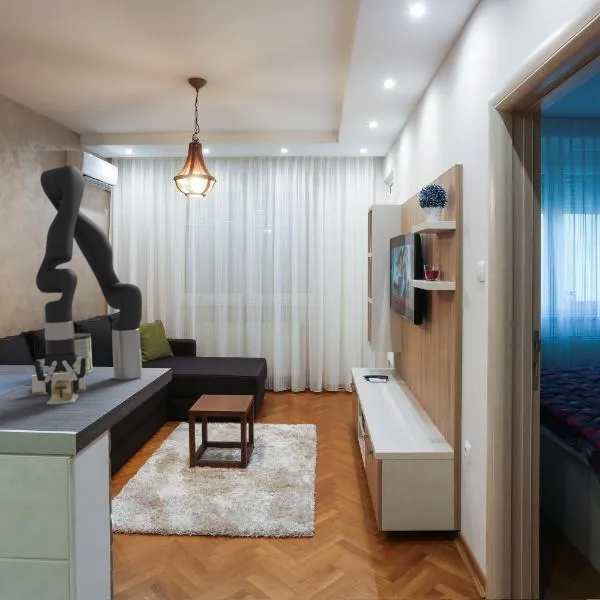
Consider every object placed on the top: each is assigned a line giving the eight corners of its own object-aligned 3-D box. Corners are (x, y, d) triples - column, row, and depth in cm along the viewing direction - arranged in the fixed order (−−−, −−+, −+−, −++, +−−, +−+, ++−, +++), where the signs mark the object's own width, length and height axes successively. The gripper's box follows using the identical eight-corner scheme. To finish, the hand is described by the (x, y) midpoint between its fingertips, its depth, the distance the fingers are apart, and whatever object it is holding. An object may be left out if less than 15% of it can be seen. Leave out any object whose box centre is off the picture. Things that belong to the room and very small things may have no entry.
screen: (86, 389, 151) (85, 370, 150) (84, 391, 148) (83, 373, 147) (34, 393, 147) (33, 374, 146) (31, 395, 144) (30, 376, 143)
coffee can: (57, 372, 175) (55, 335, 174) (83, 367, 183) (81, 332, 182) (71, 376, 169) (69, 337, 168) (98, 370, 177) (96, 334, 176)
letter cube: (74, 395, 141) (73, 378, 141) (70, 399, 136) (70, 382, 136) (55, 396, 140) (55, 380, 140) (51, 401, 135) (51, 384, 135)
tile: (78, 396, 143) (78, 394, 143) (73, 402, 136) (73, 400, 136) (52, 398, 141) (52, 396, 141) (47, 404, 134) (46, 402, 134)
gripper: (88, 333, 142) (91, 388, 144) (36, 336, 139) (39, 392, 140) (84, 337, 135) (86, 394, 136) (28, 340, 131) (31, 398, 133)
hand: (62, 393), depth 138 cm, fingers open, 6 cm apart
